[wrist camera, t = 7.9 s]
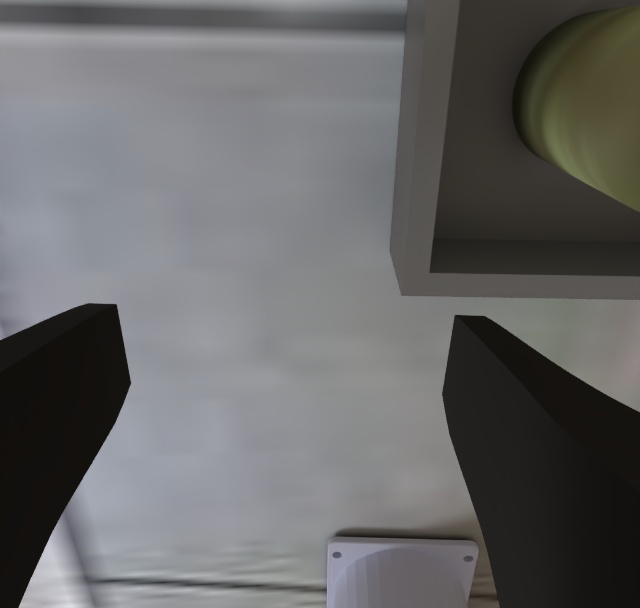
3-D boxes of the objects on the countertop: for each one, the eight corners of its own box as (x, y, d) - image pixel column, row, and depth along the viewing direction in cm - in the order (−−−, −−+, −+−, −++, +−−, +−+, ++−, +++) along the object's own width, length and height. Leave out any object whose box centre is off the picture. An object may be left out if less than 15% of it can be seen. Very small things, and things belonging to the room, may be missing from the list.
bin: (691, 255, 19) (770, 301, 16) (389, 250, 20) (401, 295, 16) (831, -131, 14) (999, -192, 11) (417, -130, 14) (443, -189, 11)
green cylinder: (636, 166, 17) (772, 220, 12) (500, 165, 17) (574, 217, 12) (681, 11, 15) (870, -9, 10) (526, 10, 15) (630, -10, 10)
